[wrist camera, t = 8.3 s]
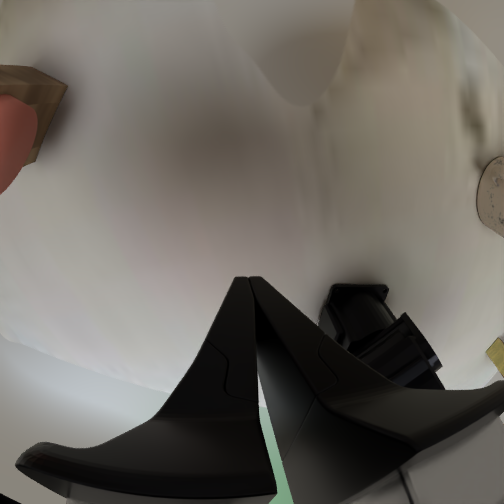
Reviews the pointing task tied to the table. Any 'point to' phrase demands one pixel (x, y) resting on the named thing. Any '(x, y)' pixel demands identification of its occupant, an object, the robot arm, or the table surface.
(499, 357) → the candy box
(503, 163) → the teacup with lid
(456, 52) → the table surface
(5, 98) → the plunger
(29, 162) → the sleeve
